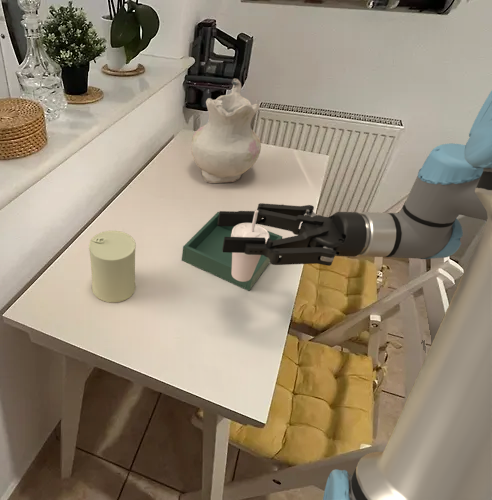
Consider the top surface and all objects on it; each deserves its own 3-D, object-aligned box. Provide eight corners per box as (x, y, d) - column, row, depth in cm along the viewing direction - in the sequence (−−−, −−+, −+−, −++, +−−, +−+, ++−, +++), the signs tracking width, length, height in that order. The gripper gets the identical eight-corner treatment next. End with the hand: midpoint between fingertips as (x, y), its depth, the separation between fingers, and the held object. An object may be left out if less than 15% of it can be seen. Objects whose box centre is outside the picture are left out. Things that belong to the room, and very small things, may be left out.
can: (102, 267, 95) (100, 224, 87) (141, 277, 93) (142, 234, 85) (84, 295, 88) (80, 251, 81) (126, 307, 86) (125, 263, 78)
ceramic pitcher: (189, 156, 137) (189, 77, 121) (250, 154, 136) (259, 73, 120) (192, 193, 121) (193, 107, 105) (262, 191, 120) (274, 103, 103)
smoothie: (264, 271, 80) (281, 209, 71) (251, 292, 76) (267, 229, 67) (232, 258, 82) (244, 197, 73) (218, 278, 78) (229, 215, 69)
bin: (278, 250, 101) (282, 236, 98) (249, 291, 90) (252, 277, 87) (215, 224, 108) (217, 211, 105) (181, 260, 97) (182, 246, 95)
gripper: (371, 291, 67) (225, 287, 68) (332, 218, 82) (212, 215, 82) (390, 255, 63) (232, 251, 63) (345, 184, 77) (217, 181, 78)
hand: (221, 231), depth 73 cm, fingers closed on smoothie, 6 cm apart
